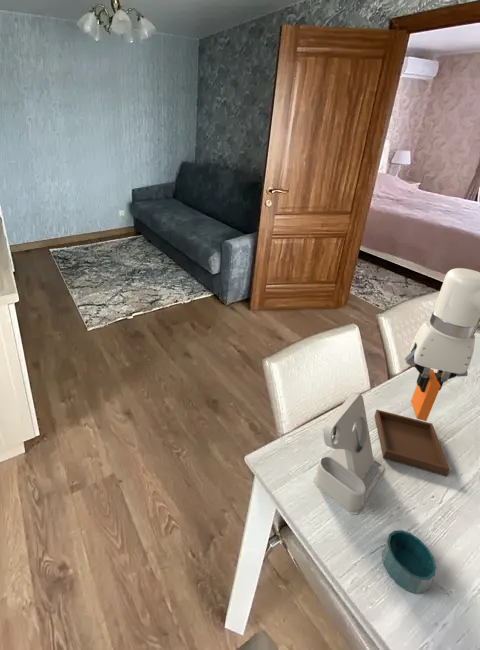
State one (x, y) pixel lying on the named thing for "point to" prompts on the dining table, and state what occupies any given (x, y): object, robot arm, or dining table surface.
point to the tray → (410, 442)
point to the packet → (425, 397)
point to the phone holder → (348, 457)
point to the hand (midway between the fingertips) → (427, 388)
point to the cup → (408, 561)
